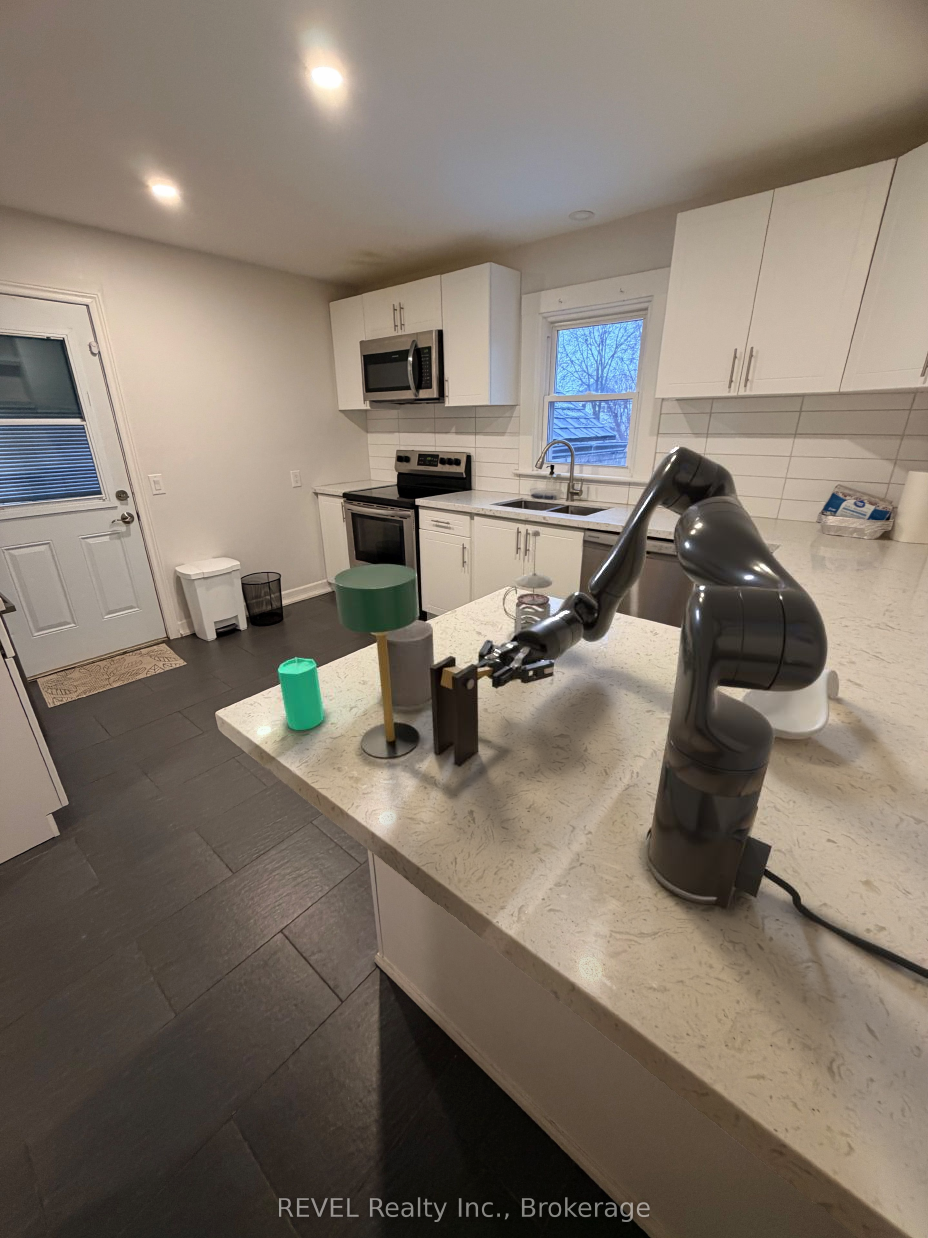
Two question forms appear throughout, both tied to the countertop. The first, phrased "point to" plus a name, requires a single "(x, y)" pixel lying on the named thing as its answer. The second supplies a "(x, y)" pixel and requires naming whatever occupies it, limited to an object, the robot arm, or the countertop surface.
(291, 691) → the candle
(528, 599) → the french press
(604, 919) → the countertop surface
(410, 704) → the pillar candle
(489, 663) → the switch lever
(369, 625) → the desk lamp
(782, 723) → the spoon rest
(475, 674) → the switch bracket
